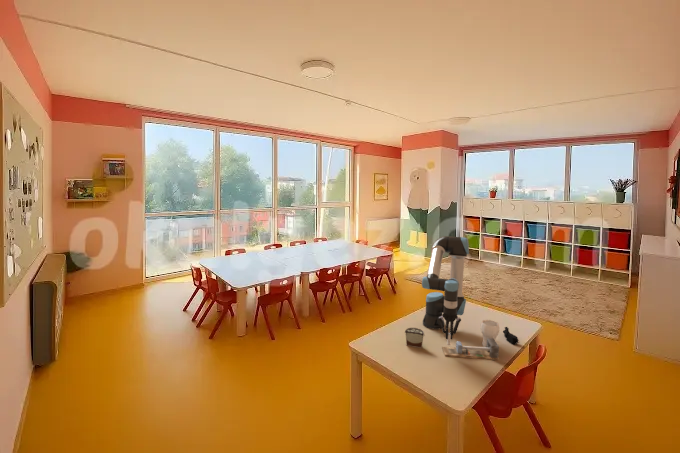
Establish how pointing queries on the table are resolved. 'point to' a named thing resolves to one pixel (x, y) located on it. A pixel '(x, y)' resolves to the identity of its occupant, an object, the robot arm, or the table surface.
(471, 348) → the grey hammer
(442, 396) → the table surface
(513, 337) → the toy
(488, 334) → the cup
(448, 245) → the robot arm
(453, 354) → the gauge bed
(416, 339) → the food container
